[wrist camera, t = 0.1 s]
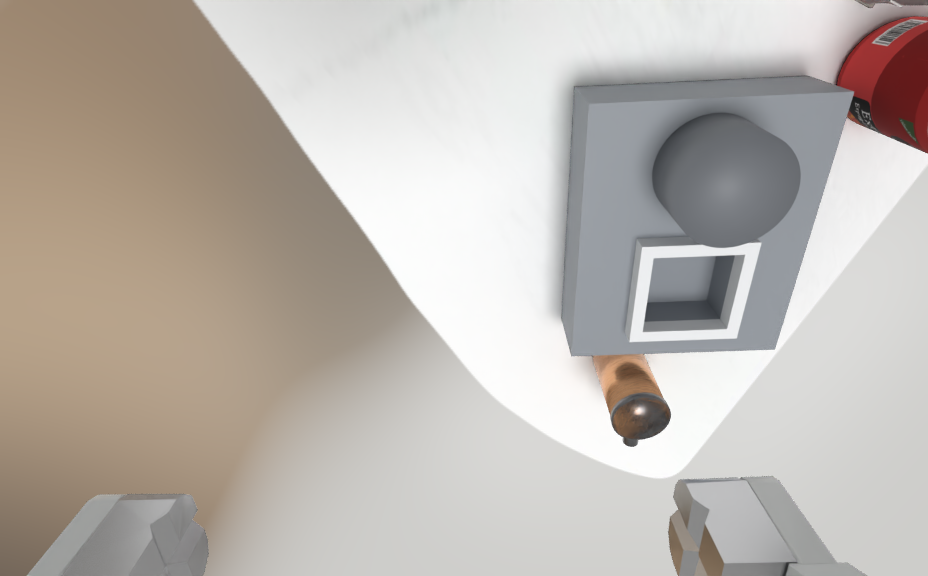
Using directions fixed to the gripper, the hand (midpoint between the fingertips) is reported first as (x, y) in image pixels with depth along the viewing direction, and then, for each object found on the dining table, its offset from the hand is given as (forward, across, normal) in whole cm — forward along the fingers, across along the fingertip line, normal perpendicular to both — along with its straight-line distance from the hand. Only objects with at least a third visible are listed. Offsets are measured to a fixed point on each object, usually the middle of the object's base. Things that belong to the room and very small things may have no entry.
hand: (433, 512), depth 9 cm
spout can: (+42, -15, +25) cm, 51 cm away
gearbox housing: (+40, -18, +8) cm, 44 cm away
